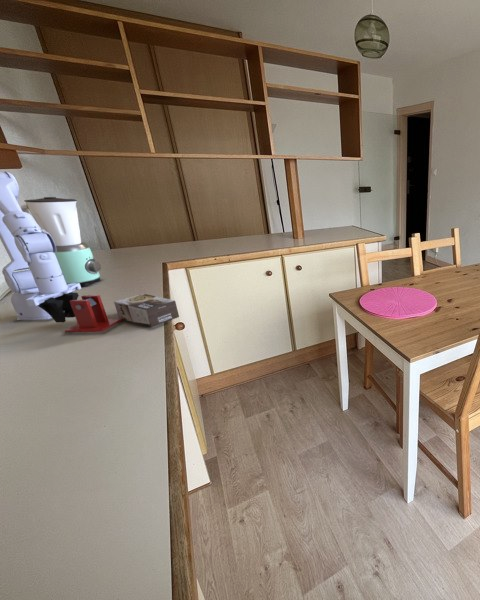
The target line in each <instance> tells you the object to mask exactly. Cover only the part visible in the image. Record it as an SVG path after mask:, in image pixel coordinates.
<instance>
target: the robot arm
mask: <svg viewBox="0 0 480 600" xmlns="http://www.w3.org/2000/svg"><path fill="white" fill-rule="evenodd" d="M19 194H20V186H19V184H18V181H17V179H16V178H15V175H14V174H12V173H11V172H9V171H6V170H5V171H0V241H1V243H2V246H3V247H4V250H5V252H6V253H7V255H8V257H9V259H10V262H9V263H7V264H6V265H5V266H4V267H3V268H2V271H1V273H2V275H3V277H4V281H5V284H6V286H7V287H8V289H9V290H10V292H12V295H11V297H10V302H11V304H12V307H13V309H14V311H15V313H16V315H17V318H16V319H15V320H16V321H19V320H21V321H22V320H27V321H28V320H50V319H52V320H53V321H54V322H55V323H65V322H66V318H68V319H69V318H76V317H75V315H74V312H73V311H72V312H70V315H69V316H68V317H66V318H65V316H64V313H63V308H66V309H69V308H72V307H71V304H70V302H69V301H71V300H78V299H79V296H80V295H79V292H75V291H77V290H78V291H79V290H82V286H81V285H80V283H71V284H68V285H67V284H66V281H65V279H64V276H63V273H62V271H61V268H60V266H59V263H58V260H57V258H56V255H55V253H53V252H56V245H55V242H54V240H53V238H52V237H51V235H50V234H49V233H48V232H46V231H45V230H42V229H41V228H40V227H39V225H38V224H37V222H36V221H35V219H34V217H33V216H32V214H31V213H29V214H28V213H26V212H23V211H22V209H21V207H20V206H21V205H20V204H19V201H18V200H19V196H20V195H19Z"/></svg>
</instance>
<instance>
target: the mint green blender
mask: <svg viewBox="0 0 480 600" xmlns="http://www.w3.org/2000/svg"><path fill="white" fill-rule="evenodd" d="M23 201H24V202H25V204H22V205H19V206H20V207H21V209H22V211H23V212H26V213H28V214H30V215H31V216H32V217H33V218H34V220H35V221H36V222H37V224H38V225H39V227H40V228H41V229H42V230H45V231H46V232H48V233H49V234H50V235H51V237H52V238H53V240H54V242H55V245H56V252H53V253H55V255H56V258H57V260H58V263H59V266H60V268H61V271H62V273H63V276H64V279H65V281H66V284H67V285H68V284H71V283H80V286H81V288H86V287H88V286H89V284H93V283H95V282H100V281H101V274H100V271H101V269H102V265H101V263H100V262H99V261H96V260H95V257H94V255H93V252H92V249H91V248H90V246H89V245H88V244H86V243H85V242H82V236H81V228H80V222H79V221H80V220H79V213H78V209H77V202H78V200H77V199H75V198H61V197H56V196H44V197H42V198H36V199H35V198H33V199H25V200H23Z"/></svg>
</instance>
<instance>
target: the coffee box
mask: <svg viewBox="0 0 480 600" xmlns="http://www.w3.org/2000/svg"><path fill="white" fill-rule="evenodd" d="M113 303H114V306H115V310H116V314H117V316H118V319H122V320H124V321H127V322H131V323H134V324H137V325H142V326H145V327H148V328H153V327H156V326H159V325H162V324H164V323H167V322H170V321H173V320H175V319H178V318H180V313H179V311H178V310H179V309H178V307H177V302H176V300H173V299H170V298H164V297H160V296H156V295H151V294H147V293H140V294H137V295H132V296H129V297H126V298H122V299H119V300H115V301H114V302H113Z"/></svg>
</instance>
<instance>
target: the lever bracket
mask: <svg viewBox="0 0 480 600" xmlns="http://www.w3.org/2000/svg"><path fill="white" fill-rule="evenodd" d="M90 297H91V298H92V299H93V300H94V301H95V302H96V305H94V306H92V307H91V305H90V302H89V300H85V299H88V298H90ZM69 302H70V304H71V307H72V309H73V312H74V315H75V317H74V318H75V320H76V323H77V324H75V325H73V326H71V327H69V328H67V329H65V330H64V331H65V332H64V333H66V334H69V333H104V332H105V331H107V330H108V329H110V328H112V327H113V326H115V325H117V324H119V323H120V322H123V319H120V318H108V315H107V312H106V309H105V307H104V306H105V305H104V304H103V300H102V297H101V295H100V294H83V295H81V299H77V300H71V301H69Z"/></svg>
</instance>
